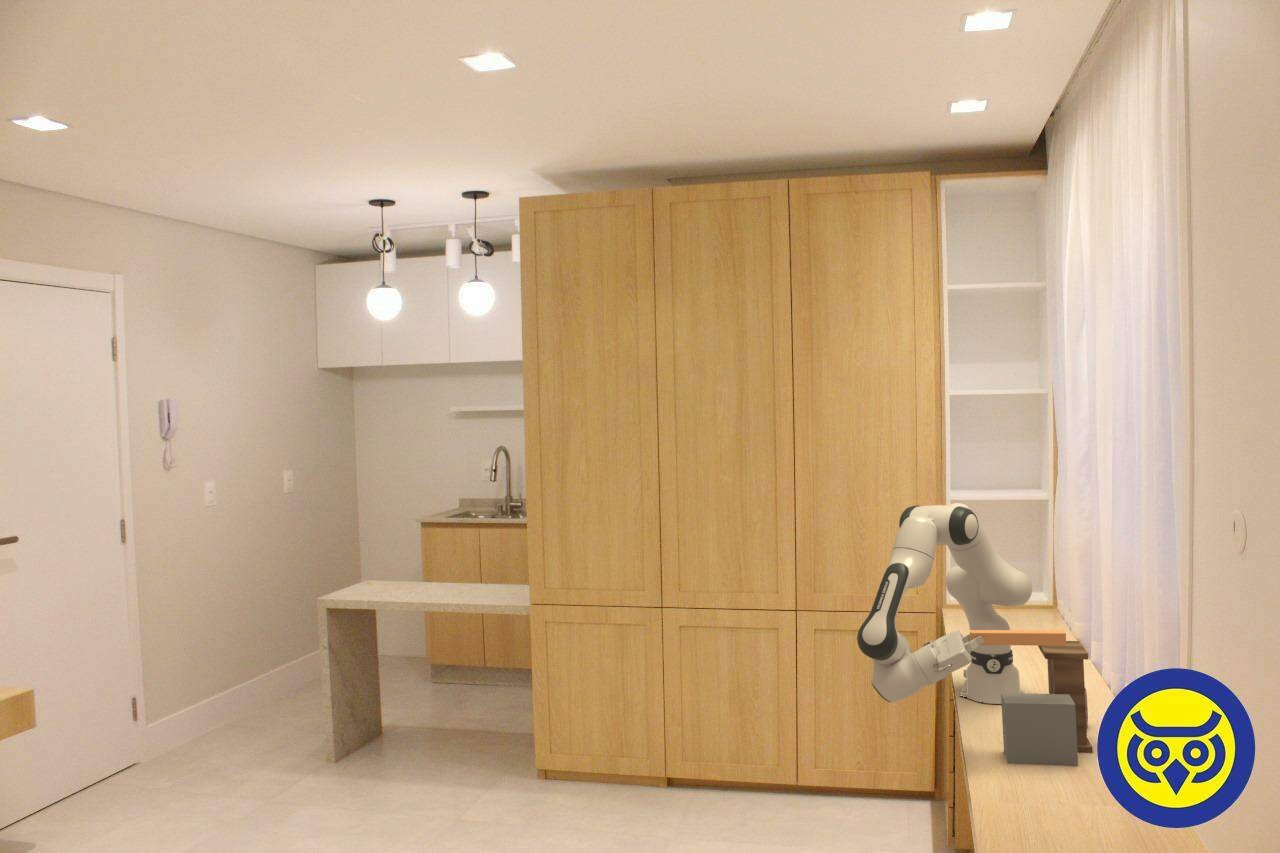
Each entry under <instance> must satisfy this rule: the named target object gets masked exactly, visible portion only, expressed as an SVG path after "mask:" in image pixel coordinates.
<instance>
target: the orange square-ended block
mask: <svg viewBox="0 0 1280 853" xmlns="http://www.w3.org/2000/svg"><path fill="white" fill-rule="evenodd" d="M969 634H970V641H971V640H973V639H974V638H975V637H976V636H978V635H981V636H982V637H983V639H984V643H982V644H980V645H1011V646H1037V647H1038V646H1066V641H1067V633H1066V632H1065V630H1064V629H1063V630H1061V629H1060V630H1055V629H1054V630H1052V629H1051V630H1049V629H1046V630H1045V629H1044V630H1041V629H1040V630H1039V629H1038V630H1037V629H1036V630H1035V629H1034V630H1032V629H1030V630H1029V629H1027V630H1023V629H1015V630H1013V629H1012V630H1011V629H1010V630H970V629H969Z"/></svg>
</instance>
